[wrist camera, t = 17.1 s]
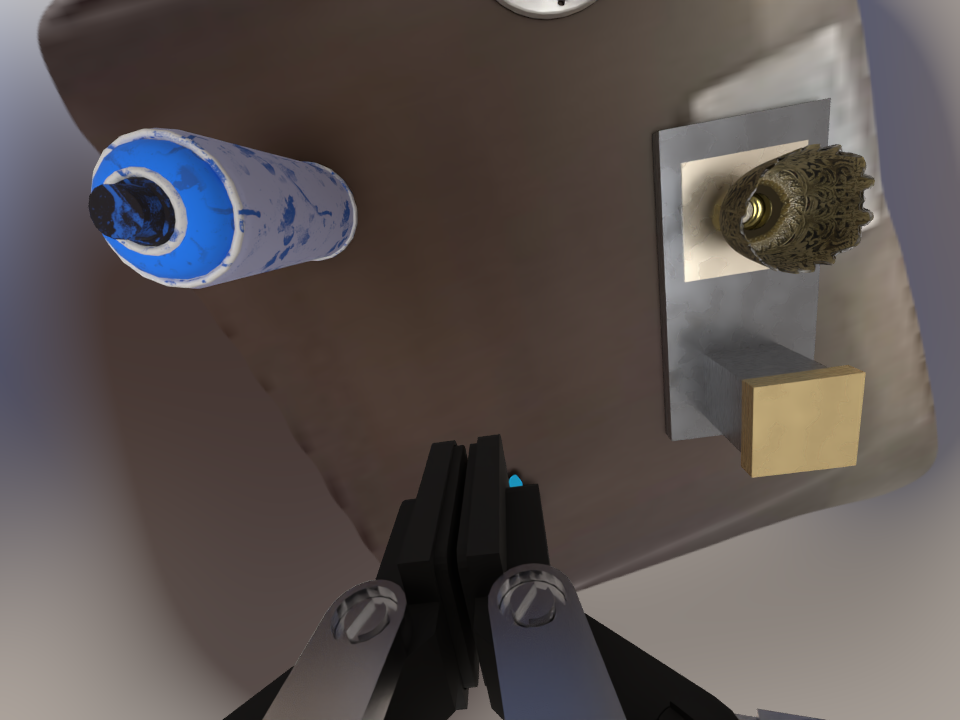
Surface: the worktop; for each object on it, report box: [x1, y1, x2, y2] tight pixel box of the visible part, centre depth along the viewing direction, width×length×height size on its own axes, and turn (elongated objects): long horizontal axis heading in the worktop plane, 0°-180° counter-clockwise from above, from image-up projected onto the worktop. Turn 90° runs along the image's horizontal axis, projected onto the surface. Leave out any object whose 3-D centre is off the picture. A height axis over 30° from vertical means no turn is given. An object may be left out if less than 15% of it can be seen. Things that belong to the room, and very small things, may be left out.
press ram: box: [741, 365, 865, 478], centre depth 34 cm, size 7×7×8 cm
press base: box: [652, 98, 831, 452], centre depth 34 cm, size 26×12×8 cm, turn 10°
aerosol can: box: [89, 128, 357, 289], centre depth 28 cm, size 8×8×20 cm
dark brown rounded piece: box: [719, 144, 875, 274], centre depth 30 cm, size 8×7×8 cm
